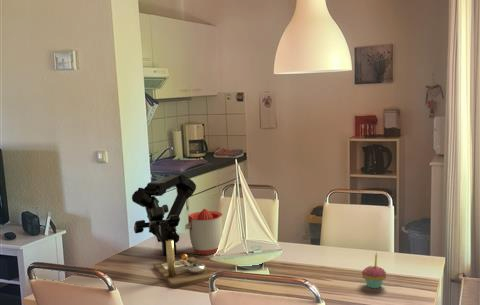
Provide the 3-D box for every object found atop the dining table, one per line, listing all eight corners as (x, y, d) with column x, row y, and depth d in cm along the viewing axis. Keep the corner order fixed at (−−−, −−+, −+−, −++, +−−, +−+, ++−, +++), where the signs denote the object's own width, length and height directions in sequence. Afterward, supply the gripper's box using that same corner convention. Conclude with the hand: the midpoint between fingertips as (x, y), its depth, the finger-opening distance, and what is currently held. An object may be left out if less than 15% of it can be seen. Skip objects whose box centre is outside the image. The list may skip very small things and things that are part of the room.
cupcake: (368, 279, 181) (367, 248, 179) (390, 284, 175) (390, 252, 174) (358, 287, 174) (357, 255, 173) (380, 293, 169) (380, 259, 167)
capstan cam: (157, 265, 203) (155, 232, 201) (191, 258, 209) (189, 226, 208) (171, 279, 186) (169, 244, 184) (207, 271, 193) (205, 237, 191)
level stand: (154, 267, 205) (153, 264, 205) (192, 259, 212) (192, 256, 212) (173, 288, 182) (173, 284, 181) (216, 278, 189) (216, 274, 189)
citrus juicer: (183, 248, 228) (180, 207, 226) (219, 243, 233) (216, 203, 231) (190, 259, 213) (187, 215, 211) (228, 253, 218) (225, 210, 216)
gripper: (133, 202, 197) (142, 235, 188) (177, 195, 205) (187, 227, 196) (130, 216, 205) (138, 249, 196) (172, 210, 213) (182, 240, 204)
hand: (162, 241), depth 198 cm, fingers closed
